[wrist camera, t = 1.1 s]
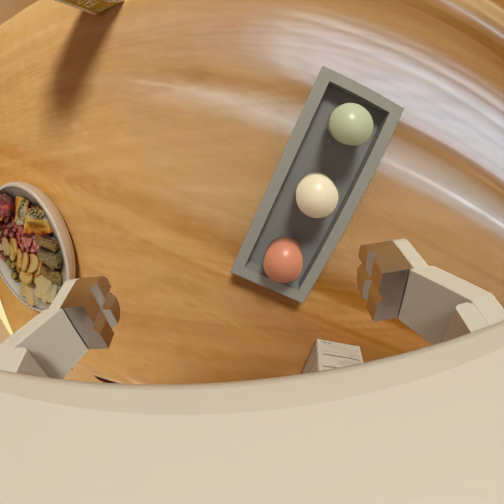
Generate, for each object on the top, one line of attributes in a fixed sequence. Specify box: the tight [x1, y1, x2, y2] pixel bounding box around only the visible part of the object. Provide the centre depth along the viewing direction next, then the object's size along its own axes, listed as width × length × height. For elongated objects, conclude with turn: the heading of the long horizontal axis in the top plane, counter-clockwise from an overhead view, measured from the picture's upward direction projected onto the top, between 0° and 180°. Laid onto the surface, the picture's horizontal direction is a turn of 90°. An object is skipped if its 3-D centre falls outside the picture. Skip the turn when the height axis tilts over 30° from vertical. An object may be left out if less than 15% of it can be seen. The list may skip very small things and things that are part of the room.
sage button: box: [327, 103, 373, 146], centre depth 33 cm, size 5×5×4 cm
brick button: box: [263, 237, 303, 283], centre depth 41 cm, size 5×5×4 cm
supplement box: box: [303, 339, 363, 373], centre depth 47 cm, size 9×9×15 cm
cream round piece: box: [296, 172, 338, 218], centre depth 37 cm, size 5×5×4 cm
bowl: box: [0, 181, 76, 312], centre depth 51 cm, size 30×30×8 cm
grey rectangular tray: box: [231, 66, 404, 303], centre depth 41 cm, size 12×32×4 cm, turn 157°
